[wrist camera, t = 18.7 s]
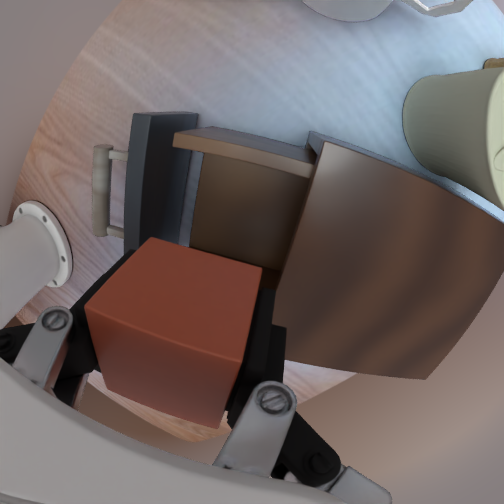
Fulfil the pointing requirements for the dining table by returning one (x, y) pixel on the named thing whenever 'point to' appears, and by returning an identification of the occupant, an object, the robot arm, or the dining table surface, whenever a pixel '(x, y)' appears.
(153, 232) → the drawer
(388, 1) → the cup
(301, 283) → the cabinet
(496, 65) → the sprinkles bottle
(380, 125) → the dining table surface
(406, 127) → the can
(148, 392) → the block
